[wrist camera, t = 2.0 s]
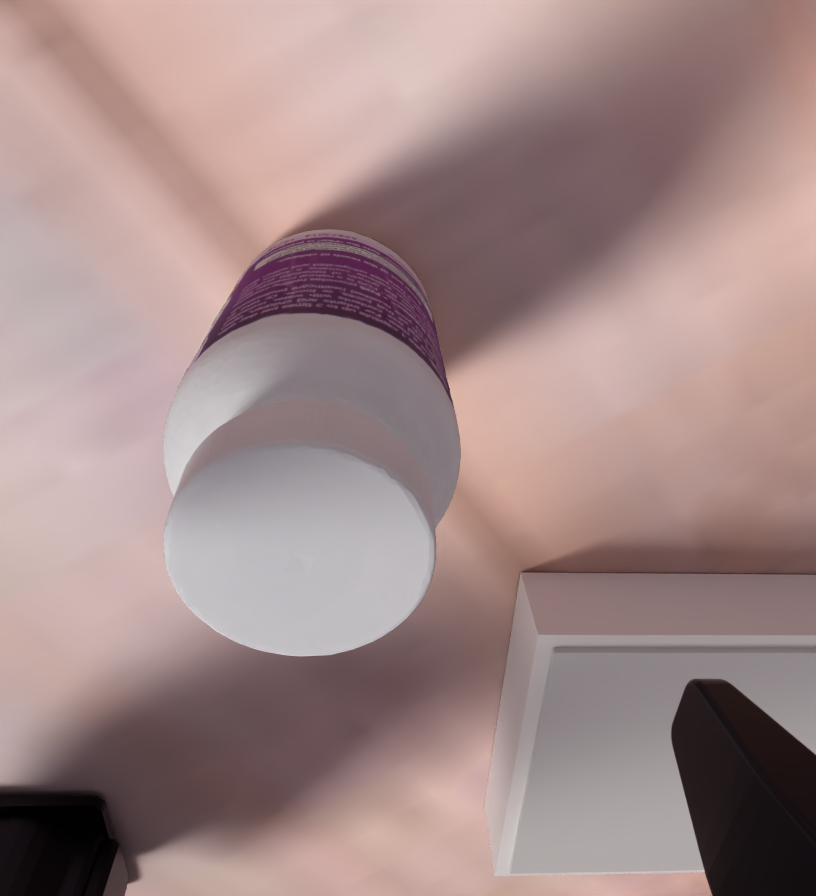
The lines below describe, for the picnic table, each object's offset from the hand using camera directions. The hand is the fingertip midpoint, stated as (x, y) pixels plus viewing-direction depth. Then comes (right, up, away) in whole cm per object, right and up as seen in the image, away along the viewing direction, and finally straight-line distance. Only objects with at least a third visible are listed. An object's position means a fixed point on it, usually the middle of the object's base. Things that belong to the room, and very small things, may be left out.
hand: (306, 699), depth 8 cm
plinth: (+10, -6, +18) cm, 22 cm away
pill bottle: (-1, +6, +11) cm, 12 cm away
